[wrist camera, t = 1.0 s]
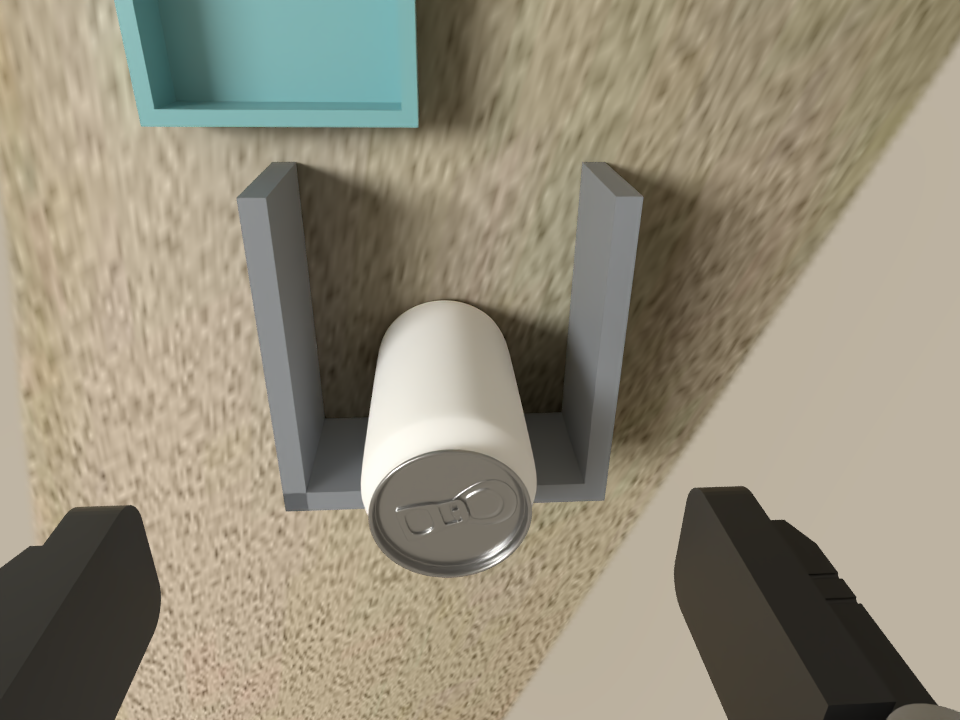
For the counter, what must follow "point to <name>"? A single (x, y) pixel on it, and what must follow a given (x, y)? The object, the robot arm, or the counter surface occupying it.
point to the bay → (341, 441)
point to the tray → (272, 62)
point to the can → (447, 444)
